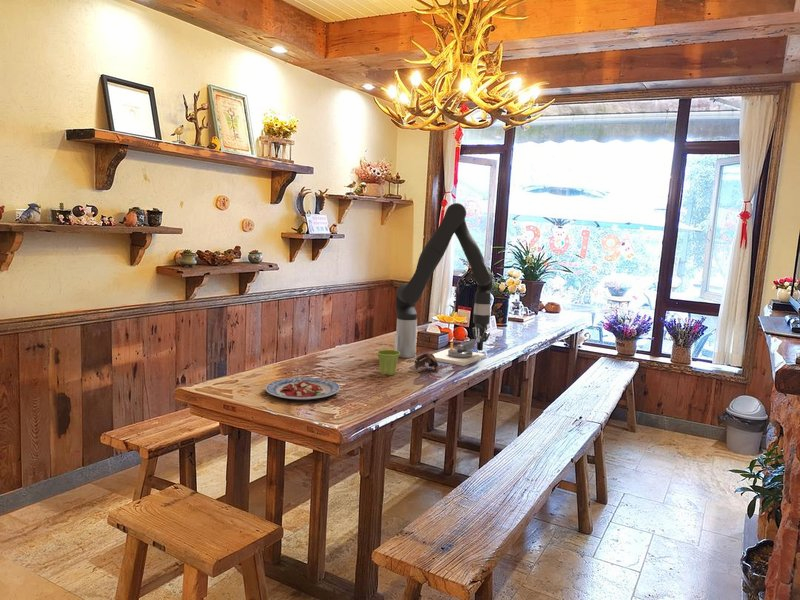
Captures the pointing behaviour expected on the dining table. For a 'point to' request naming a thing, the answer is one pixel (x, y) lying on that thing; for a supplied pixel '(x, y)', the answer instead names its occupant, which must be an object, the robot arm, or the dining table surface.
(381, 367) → the plant pot
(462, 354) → the dial
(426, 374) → the dining table surface
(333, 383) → the ceramic plate
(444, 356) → the dial base
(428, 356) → the brown mottled lump
